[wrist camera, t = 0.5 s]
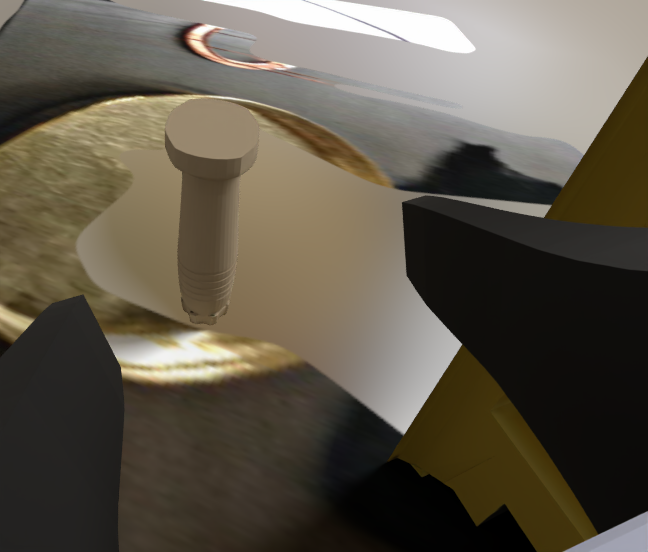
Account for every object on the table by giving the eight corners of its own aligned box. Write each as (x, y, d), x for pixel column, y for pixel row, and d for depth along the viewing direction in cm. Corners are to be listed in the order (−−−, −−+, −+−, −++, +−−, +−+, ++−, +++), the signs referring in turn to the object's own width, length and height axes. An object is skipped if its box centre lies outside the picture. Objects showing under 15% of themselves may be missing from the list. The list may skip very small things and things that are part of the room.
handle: (164, 343, 33) (155, 150, 23) (178, 277, 38) (176, 93, 28) (234, 348, 34) (257, 165, 24) (240, 283, 39) (261, 107, 29)
